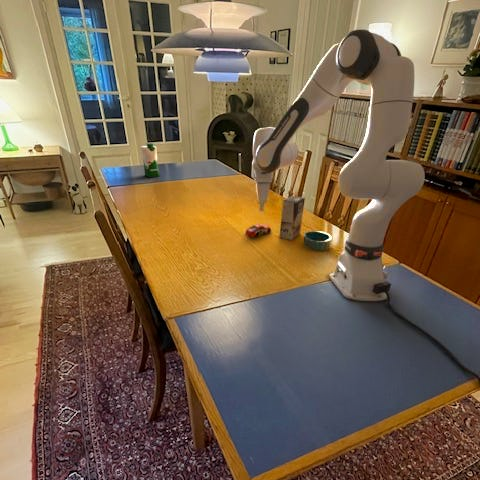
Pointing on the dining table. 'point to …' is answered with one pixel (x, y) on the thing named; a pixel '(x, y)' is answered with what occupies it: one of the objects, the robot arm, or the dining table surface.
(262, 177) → the robot arm
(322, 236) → the teal bowl
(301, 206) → the coffee box
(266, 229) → the race car
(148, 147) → the milk carton
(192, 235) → the dining table surface
